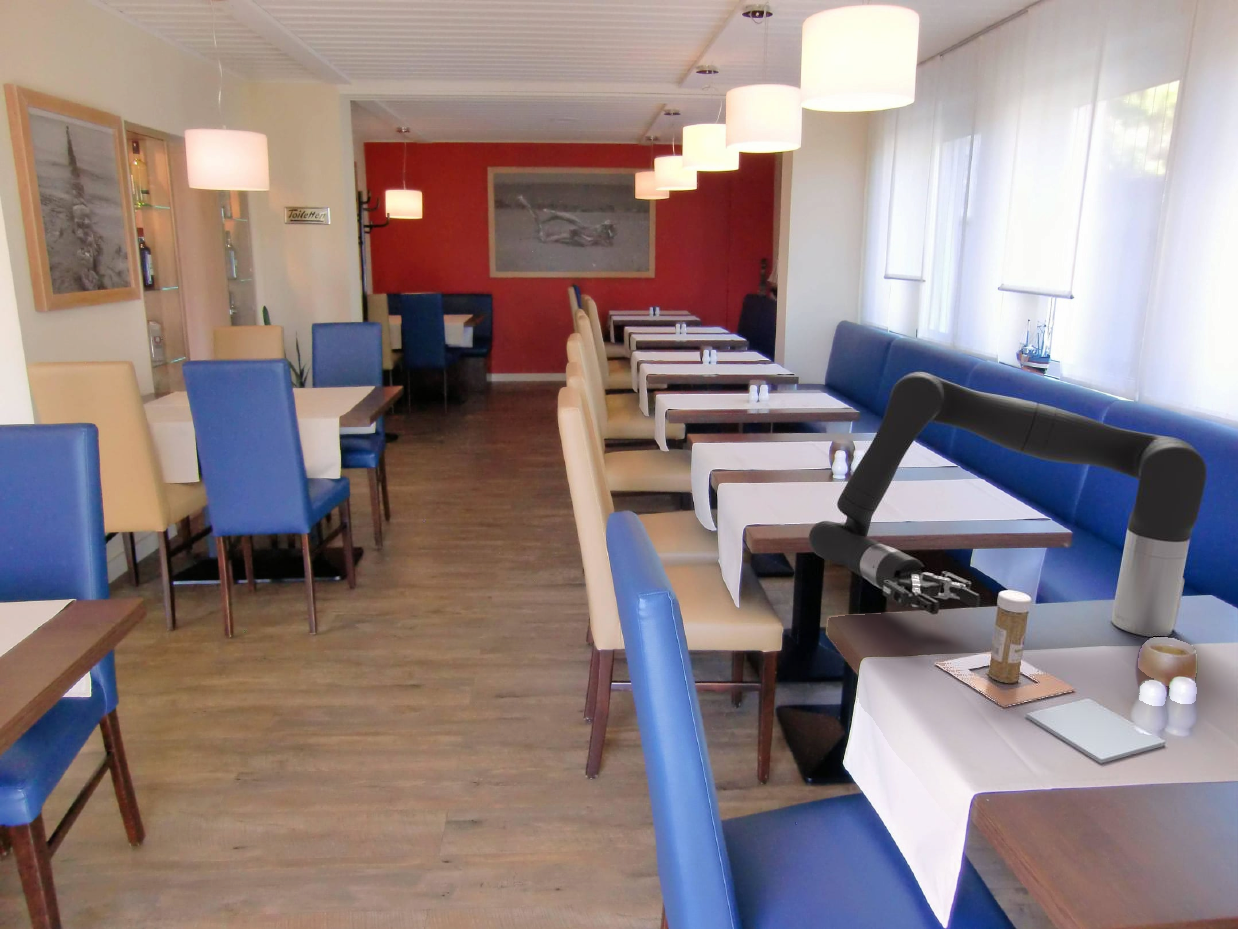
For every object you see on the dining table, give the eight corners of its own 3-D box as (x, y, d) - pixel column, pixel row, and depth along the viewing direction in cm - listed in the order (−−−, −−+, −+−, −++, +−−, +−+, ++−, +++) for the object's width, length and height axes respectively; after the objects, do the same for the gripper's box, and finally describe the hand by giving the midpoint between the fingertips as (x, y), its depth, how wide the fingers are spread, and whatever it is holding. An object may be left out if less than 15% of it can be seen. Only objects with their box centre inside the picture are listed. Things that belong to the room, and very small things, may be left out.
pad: (1087, 702, 128) (1088, 698, 128) (1165, 745, 117) (1165, 741, 117) (1025, 717, 123) (1026, 713, 123) (1100, 763, 113) (1101, 759, 113)
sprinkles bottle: (1021, 686, 132) (1033, 602, 129) (988, 681, 133) (1000, 598, 130) (1017, 673, 136) (1029, 591, 133) (985, 668, 137) (997, 587, 134)
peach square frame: (1002, 651, 144) (1002, 648, 143) (1075, 691, 131) (1075, 689, 131) (934, 664, 138) (934, 662, 138) (1003, 708, 126) (1004, 705, 126)
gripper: (860, 555, 153) (925, 589, 139) (925, 546, 159) (994, 578, 144) (856, 595, 155) (920, 633, 141) (921, 585, 160) (988, 620, 146)
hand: (958, 605), depth 142 cm, fingers open, 8 cm apart
